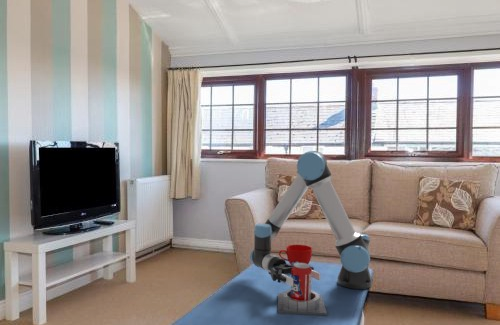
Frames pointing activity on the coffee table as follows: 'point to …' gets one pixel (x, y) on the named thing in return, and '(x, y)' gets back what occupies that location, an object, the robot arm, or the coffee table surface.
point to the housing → (301, 304)
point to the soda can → (301, 281)
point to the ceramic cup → (298, 254)
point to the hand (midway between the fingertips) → (306, 279)
